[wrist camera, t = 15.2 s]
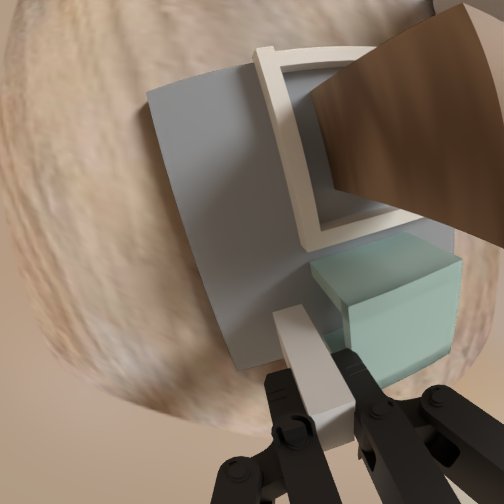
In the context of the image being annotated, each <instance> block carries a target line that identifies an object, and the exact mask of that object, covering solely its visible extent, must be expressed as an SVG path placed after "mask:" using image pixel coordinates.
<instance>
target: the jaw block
mask: <svg viewBox="0 0 504 504" xmlns="http://www.w3.org/2000/svg"><path fill="white" fill-rule="evenodd" d="M310 95H311V98H312V102H313V105H314V108H315V112H316V115H317V119H318V123H319V126H320V130H321V134H322V138H323V142H324V146H325V150H326V154H327V158H328V162H329V167H330V171H331V176H332V180H333V185H334V189H335V190H338V191H342V192H346V193H349V194H353V195H356V196H360V197H363V198H367V199H370V200H373V201H377V202H380V203H383V204H387V205H390V206H393V207H396V208H399V209H402V210H405V211H408V212H411V213H414V214H417V215H420V216H423V217H426V218H428V219H431V220H434V221H437V222H440V223H442V224H445V225H448V226H450V227H453V228H456V229H458V230H461V231H463V232H466V233H468V234H471V235H473V236H476V237H478V238H480V239H483V240H485V241H488V242H490V243H492V244H494V245H497V246H499V247H501V248H503V249H504V22H502V21H500V20H498V19H496V18H495V17H493V16H491V15H489V14H487V13H485V12H483V11H480V10H478V9H476V8H474V7H472V6H469V5H467V4H465V3H460V4H458V5H456V6H454V7H451V8H449V9H447V10H445V11H443V12H441V13H439V14H436V15H434V16H432V17H430V18H428V19H426V20H424V21H422V22H421V23H419V24H417V25H415V26H413V27H411V28H409V29H407V30H406V31H404V32H402V33H400V34H398V35H397V36H395V37H393V38H391V39H390V40H388V41H386V42H384V43H383V44H381V45H379V46H378V47H376V48H374V49H373V50H371V51H370V52H368V53H366V54H365V55H363V56H362V57H360V58H358V59H357V60H355V61H354V62H352V63H351V64H349V65H348V66H346V67H345V68H343V69H342V70H340V71H339V72H337V73H336V74H334V75H333V76H331V77H330V78H328V79H327V80H326V81H324V82H323V83H321V84H320V85H319V86H317V87H316V88H314V89H313V90H312V91H310Z"/></svg>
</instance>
